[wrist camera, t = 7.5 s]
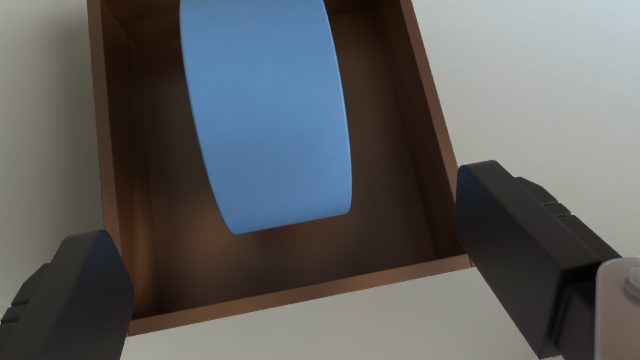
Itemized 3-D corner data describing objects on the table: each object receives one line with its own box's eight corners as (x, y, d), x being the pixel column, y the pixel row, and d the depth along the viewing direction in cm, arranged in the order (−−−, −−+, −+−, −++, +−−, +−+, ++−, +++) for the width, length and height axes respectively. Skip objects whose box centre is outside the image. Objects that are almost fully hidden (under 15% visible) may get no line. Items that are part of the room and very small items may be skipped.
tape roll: (247, 246, 22) (201, 213, 12) (220, 72, 25) (163, -74, 15) (340, 228, 23) (366, 183, 13) (305, 58, 25) (304, -92, 15)
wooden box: (155, 328, 22) (112, 340, 17) (127, 42, 25) (84, -16, 21) (447, 269, 23) (485, 264, 18) (378, 4, 27) (395, -59, 22)
